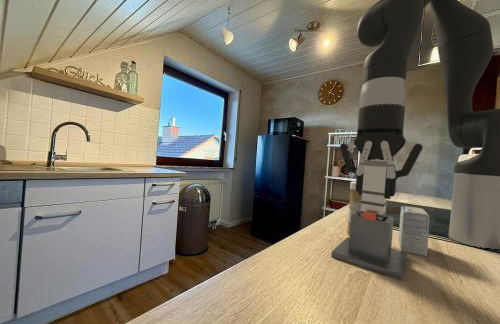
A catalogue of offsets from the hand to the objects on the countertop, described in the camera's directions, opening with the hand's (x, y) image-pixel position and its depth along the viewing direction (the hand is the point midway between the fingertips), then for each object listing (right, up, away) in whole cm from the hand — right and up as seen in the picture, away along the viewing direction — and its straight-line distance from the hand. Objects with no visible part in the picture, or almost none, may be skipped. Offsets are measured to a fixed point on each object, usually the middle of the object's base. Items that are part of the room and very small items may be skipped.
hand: (374, 196), depth 41 cm
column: (-1, -10, 0) cm, 10 cm away
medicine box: (+12, -13, +7) cm, 19 cm away
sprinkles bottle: (+3, -12, +13) cm, 18 cm away
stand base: (-1, -12, 0) cm, 12 cm away
